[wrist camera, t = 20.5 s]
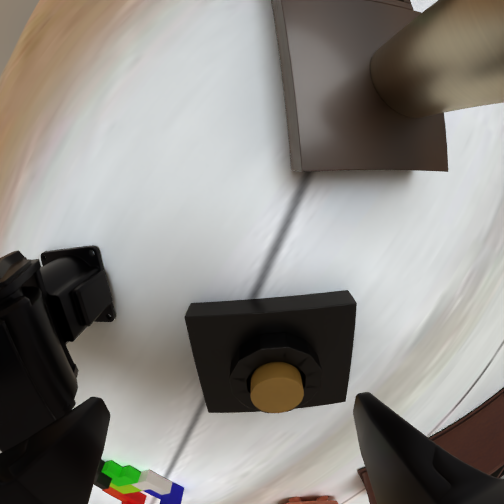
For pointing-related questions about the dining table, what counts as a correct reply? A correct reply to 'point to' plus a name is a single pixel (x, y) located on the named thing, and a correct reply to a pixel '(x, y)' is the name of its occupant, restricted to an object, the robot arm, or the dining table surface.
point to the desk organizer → (470, 440)
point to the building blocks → (135, 484)
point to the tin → (444, 59)
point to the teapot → (319, 503)
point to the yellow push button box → (272, 346)
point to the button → (276, 387)
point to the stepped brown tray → (348, 89)
